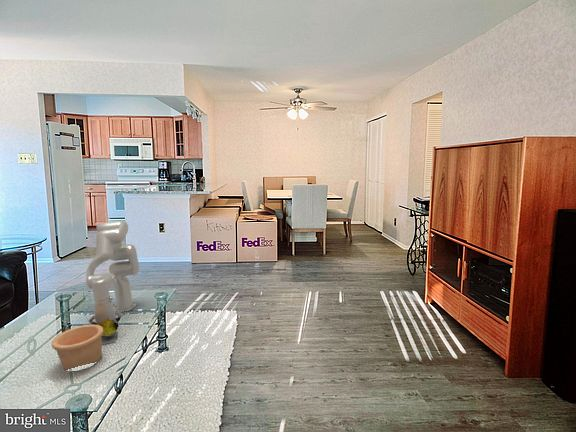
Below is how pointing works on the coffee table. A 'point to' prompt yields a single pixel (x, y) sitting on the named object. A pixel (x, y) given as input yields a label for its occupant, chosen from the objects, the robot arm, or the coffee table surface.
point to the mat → (109, 339)
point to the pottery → (79, 346)
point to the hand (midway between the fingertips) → (108, 330)
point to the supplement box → (108, 327)
